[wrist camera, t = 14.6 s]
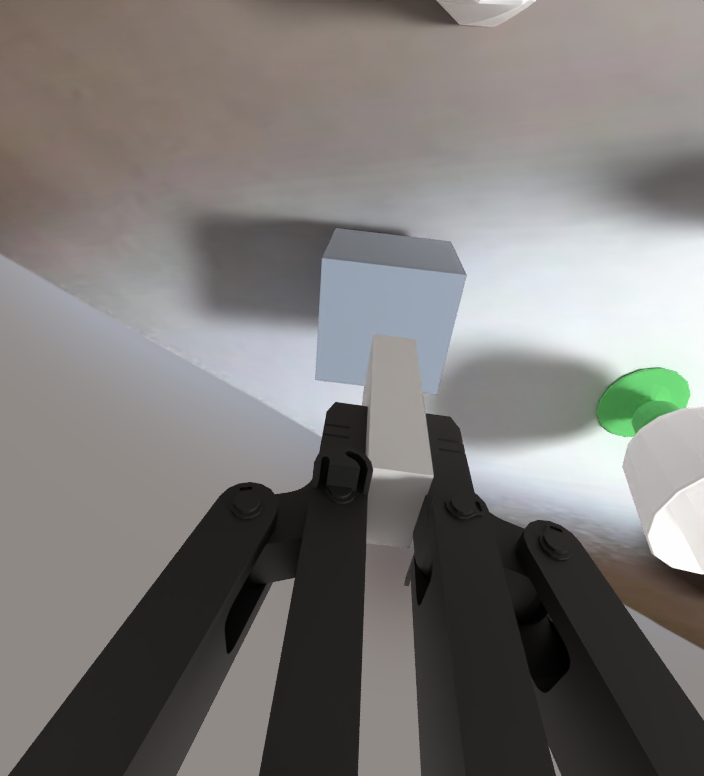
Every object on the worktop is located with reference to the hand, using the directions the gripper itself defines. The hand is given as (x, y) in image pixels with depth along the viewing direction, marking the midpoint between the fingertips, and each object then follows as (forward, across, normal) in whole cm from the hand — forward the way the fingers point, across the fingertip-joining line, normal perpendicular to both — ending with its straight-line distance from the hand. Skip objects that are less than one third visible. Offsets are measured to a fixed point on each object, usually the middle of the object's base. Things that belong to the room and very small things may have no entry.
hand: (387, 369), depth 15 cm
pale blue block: (+23, +1, -6) cm, 24 cm away
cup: (+26, +31, -15) cm, 43 cm away
